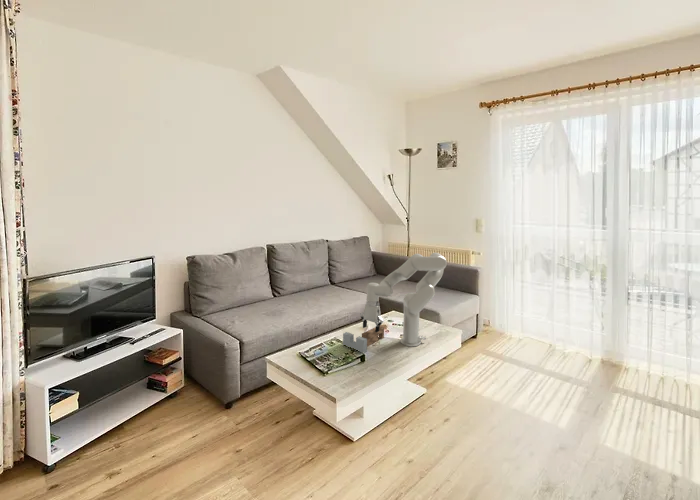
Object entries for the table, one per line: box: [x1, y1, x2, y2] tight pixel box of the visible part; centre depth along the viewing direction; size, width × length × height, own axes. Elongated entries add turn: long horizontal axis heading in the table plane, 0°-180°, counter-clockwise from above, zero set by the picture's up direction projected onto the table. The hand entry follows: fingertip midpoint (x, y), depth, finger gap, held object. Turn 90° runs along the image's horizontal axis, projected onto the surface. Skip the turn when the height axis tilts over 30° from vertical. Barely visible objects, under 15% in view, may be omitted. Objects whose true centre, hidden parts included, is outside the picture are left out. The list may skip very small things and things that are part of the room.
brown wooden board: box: [361, 324, 385, 347], centre depth 242 cm, size 19×3×8 cm, turn 139°
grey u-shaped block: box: [342, 331, 368, 354], centre depth 232 cm, size 16×3×8 cm, turn 50°
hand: (370, 329), depth 241 cm, fingers open, 9 cm apart
